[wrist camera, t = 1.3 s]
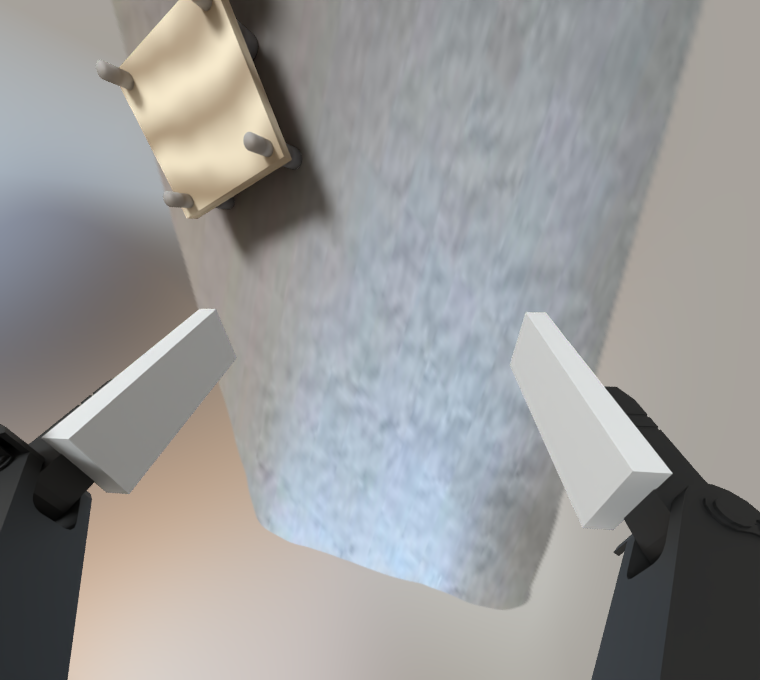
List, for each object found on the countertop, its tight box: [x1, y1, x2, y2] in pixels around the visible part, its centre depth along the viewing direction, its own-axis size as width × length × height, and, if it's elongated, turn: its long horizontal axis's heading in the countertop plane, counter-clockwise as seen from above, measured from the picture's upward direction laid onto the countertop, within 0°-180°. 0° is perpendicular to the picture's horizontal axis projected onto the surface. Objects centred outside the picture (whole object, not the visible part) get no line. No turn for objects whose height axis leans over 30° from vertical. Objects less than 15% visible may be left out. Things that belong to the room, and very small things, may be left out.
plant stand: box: [96, 0, 302, 219], centre depth 32 cm, size 16×16×8 cm
